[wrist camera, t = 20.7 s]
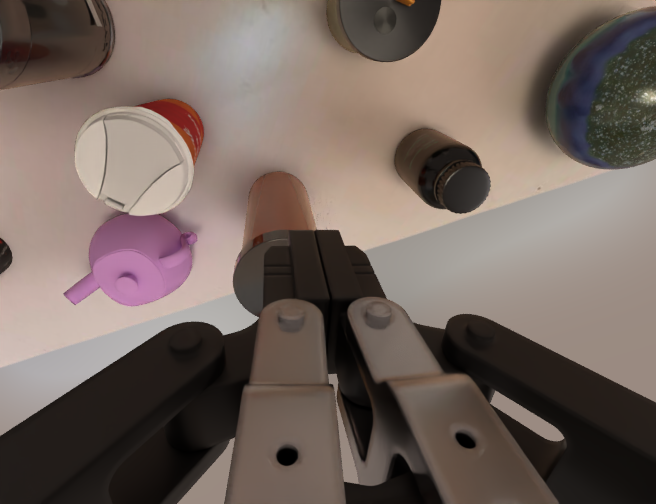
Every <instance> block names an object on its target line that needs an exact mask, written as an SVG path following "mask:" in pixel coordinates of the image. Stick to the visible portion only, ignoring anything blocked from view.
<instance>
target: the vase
mask: <svg viewBox="0 0 656 504" xmlns="http://www.w3.org/2000/svg"><path fill="white" fill-rule="evenodd" d="M545 114H546V123H547V127H548V130H549V132H550V135H551V137H552V139H553V141H554V142H555V144H556V145H557V146H558V147H559V148H560V150H561V151H562V152H563V153H565V154H566V155H567V156H568V157H570V158H571V159H573V160H574V161H576V162H579V163H581V164H583V165H586V166H589V167H593V168H598V169H623V168H630V167H634V166H637V165H641V164H644V163H647V162H649V161H652V160H654V159H656V6H654V7H647V8H642V9H638V10H634V11H631V12H628V13H625V14H623V15H620V16H618V17H616V18H613V19H611V20H609V21H607V22H606V23H604V24H602V25H601V26H599V27H598V28H596V29H595V30H593V31H592V32H590V33H589V34H588V35H587V36H585V37H584V38H583V39H582V40H580V42H579V43H578V44H577V45H576V46H575V47H574V48H573V49H572V50H571V51H570V52H569V53H568V54H567V56H566V57H565V58H564V60H563V61H562V62H561V64H560V66H559V67H558V69H557V70H556V72H555V74H554V76H553V78H552V81H551V83H550V86H549V89H548V93H547V98H546V107H545Z"/></svg>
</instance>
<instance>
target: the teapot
mask: <svg viewBox="0 0 656 504" xmlns="http://www.w3.org/2000/svg"><path fill="white" fill-rule="evenodd" d="M196 241H197V235H196V234H195V233H194V232H186V233H183V234H182V233H181V232H180V231H179V230H178V229H177V227H175V226H174V225H173V224H172V223H171V222H170V221H168V220H167V219H165V218H164V217H162V216H161V215H158V214H155V215H146V216H134V215H129V213H126V214H123V215H120V216H117V217H115V218H112V219H111V220H109V221H107V222H106V223H104V224H103V225H102V226H100V228H99V229H98V230H97V231H96V232H95V234H94V236H93V238H92V240H91V243H90V247H89V261H90V266H91V270H92V272H91V273H89V274H88V275H87V276H85V277H84V278H83V279H81V280H80V281H79V282H78V283H76V284H75V285H74V286H72V287H71V288H70V289H68V290H67V291H66V292H65V293H63V294H64V295H65V297H66V298H67V299H68V300H70V301H71V302H72V303H73V304H75V305H76V304H78V303H79V302H80V301H82V300H83V299H84V298H86V297H87V296H89V295H90V294H91V293H93V292H94V291H95V290H97V289H98V288H101V289H102V290H103V292H104V293H105V294H107V295H108V296H109V297H110V298H111V299H113V300H114V301H116V302H118V303H120V304H122V305H126V306H139V305H143V304H147V303H150V302H153V301H155V300H158V299H160V298H162V297H164V296H166V295H168V294H170V293H171V292H173V291H174V290H176V289H177V288H178V287H180V286H181V285H182V284H183V282H184V281H185V280H186V278H187V277H188V275H189V273H190V271H191V268H192V255H191V251H190V247H189V245H191V244H194V243H195V242H196Z"/></svg>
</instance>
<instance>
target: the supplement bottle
mask: <svg viewBox="0 0 656 504" xmlns="http://www.w3.org/2000/svg"><path fill="white" fill-rule="evenodd" d="M395 167H396V171H397V173H398V175H399V176H400V177H401V179H402V180H403V181H404V182H405V183H406V184H407V185H408V186H409V187H410V188H411V189H412V190H413V191H414V192H415V193H416V194H417V195H418V196H419V197H420V198H421V199H422V200H423V201H424V202H425V203H426V204H428V205H429V206H431V207H434V208H437V209H448V210H450V211H451V212H455V213H460V214H462V213H467V212H471V211H472V210H475V209H476V208H478V207H479V206H480V205H481V204H482V203H483V201H485V200H486V197H487V196H488V193H489V191H490V186H491V185H490V182H491V181H490V177H489V176H488V173H487V172H486V171H485V169H483V168H482V164H481V161H480V159H479V157H478V155H477V154H476V152H475V151H474V150H472V149H471V148H470V147H468V146H466V145H464V144H462V143H460V142H458V141H456V140H455V139H453V138H451V137H449V136H447V135H445V134H443V133H441V132H439V131H436V130H433V129H419V130H416V131H414V132H412V133H410V134H409V135H408V136H406V137H405V138H404V139H403V141H402V142H401V143H400V145H399V147H398V149H397V151H396V155H395Z"/></svg>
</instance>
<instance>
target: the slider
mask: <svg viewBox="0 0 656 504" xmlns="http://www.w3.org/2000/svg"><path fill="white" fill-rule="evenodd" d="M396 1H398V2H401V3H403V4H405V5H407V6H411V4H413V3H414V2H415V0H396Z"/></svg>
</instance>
